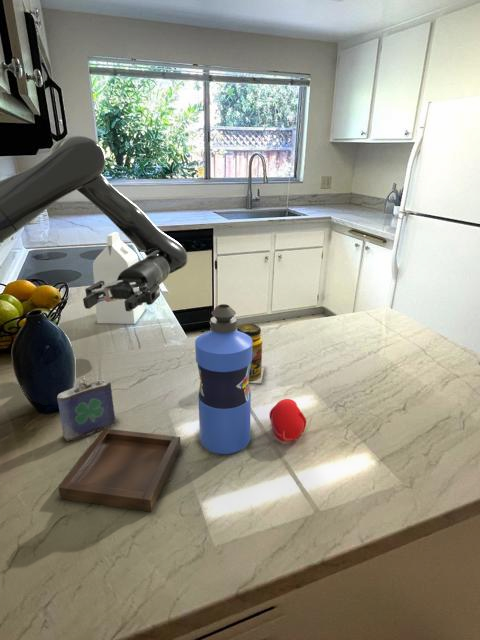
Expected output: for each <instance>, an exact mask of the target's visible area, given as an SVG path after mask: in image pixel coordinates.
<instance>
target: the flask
mask: <svg viewBox="0 0 480 640" xmlns="http://www.w3.org/2000/svg"><path fill="white" fill-rule="evenodd" d="M76 380H77V381H78V384H77V386H75V387H72V388H69V389H67V390H64V391H62V392H60V393H58V395H57V396H56V399H57V404H58V410H59V415H60V422H61V426H62V433H63V438H64V440H66V441H67V442H69V441H76V440H79V439H80V438H82V437H85V436H88V435H92V434H93V433H95V432H96V431H98V432H99V431H102V430H103V429H104V428H105V429H108V428H110V427H113V426H114V425H115V424H116V416H115V408H114V407H115V405H114V401H113V400H114V399H113V390H112V384H111V382H110V381H109V380H107V379H97V380H95V381H89V380H86V377H85V376H84V375H83V376H80V377H79V378H77V379H76Z"/></svg>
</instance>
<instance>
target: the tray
mask: <svg viewBox="0 0 480 640" xmlns="http://www.w3.org/2000/svg"><path fill="white" fill-rule="evenodd" d="M181 448H182V442H181V436H175V435H174V436H173V435H166V434H158V433H150V432H149V433H148V432H140V431H133V430H132V431H131V430H122V429H113V428H103V429H101V431H100V432H99V434H98V436H96V438H95V439H94V441H93V442H92V443H91V445H89V447H88V448H87V450H86V451H85V452H84V454H83V455H82V456H81V457H80V459H79V460H78V461H77V462H76V464H75V465H74V466H73V468H72V469H71V470H70V471H69V473H68V474H67V475H66V477H65V478H64V479H63V481H62V482H61V483H60V484H59V486H58V492H59V496H60V499H61V500H67V501H73V502H79V503H80V502H81V503H87V504H88V503H89V504H95V505H101V506H102V505H103V506H108V507H116V508H122V509H128V510H137V511H144V512H149V513H150V512H152V511H153V509H154V507H155V505H156V503H157V501H158V499H159V496H160V494H161V492H162V489H163V487H164V485H165V484H166V481H167V478H168V477H169V474H170V472H171V470H172V467H174V463H175V461H176V459H177V456H178V455H179V453H180V450H181Z"/></svg>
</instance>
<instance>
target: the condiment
mask: <svg viewBox="0 0 480 640" xmlns="http://www.w3.org/2000/svg"><path fill="white" fill-rule="evenodd" d="M236 331H239V332H242V333H245V334H247V335H248V336H250V337H251V338H252V361H251V366H250V373H249V380H248V381H249V384H262V380H263V375H264V370H265V367H262V359H263V339H262V334H261V331H262V329H261V327H260V325H257V324H253V323H243V324H240V325H238V326H237V329H236Z"/></svg>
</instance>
